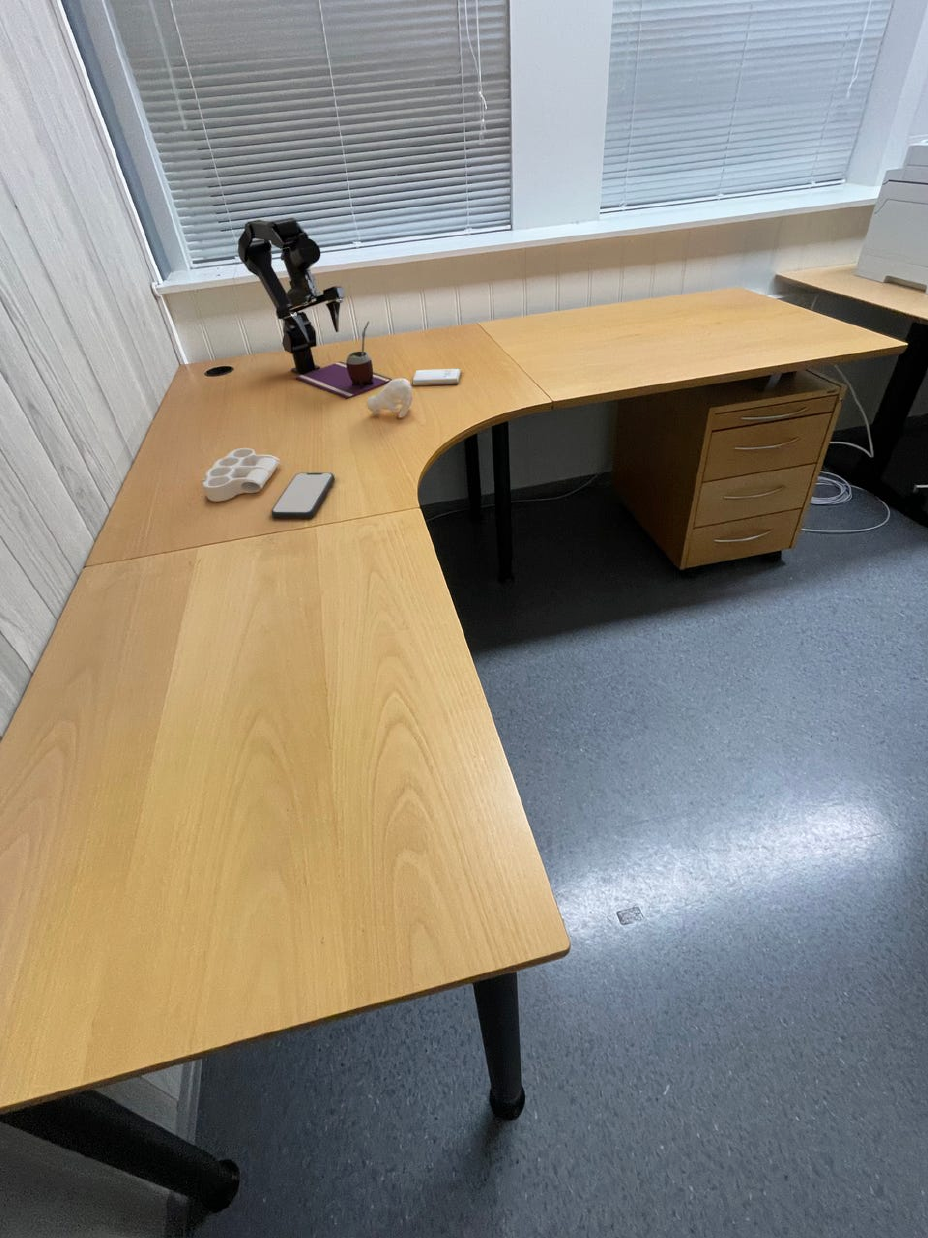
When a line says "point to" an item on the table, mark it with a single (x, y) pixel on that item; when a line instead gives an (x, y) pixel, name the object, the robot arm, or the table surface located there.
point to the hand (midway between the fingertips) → (322, 337)
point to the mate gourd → (360, 366)
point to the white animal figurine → (392, 397)
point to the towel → (339, 380)
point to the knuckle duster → (238, 474)
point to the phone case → (303, 495)
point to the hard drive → (436, 376)
